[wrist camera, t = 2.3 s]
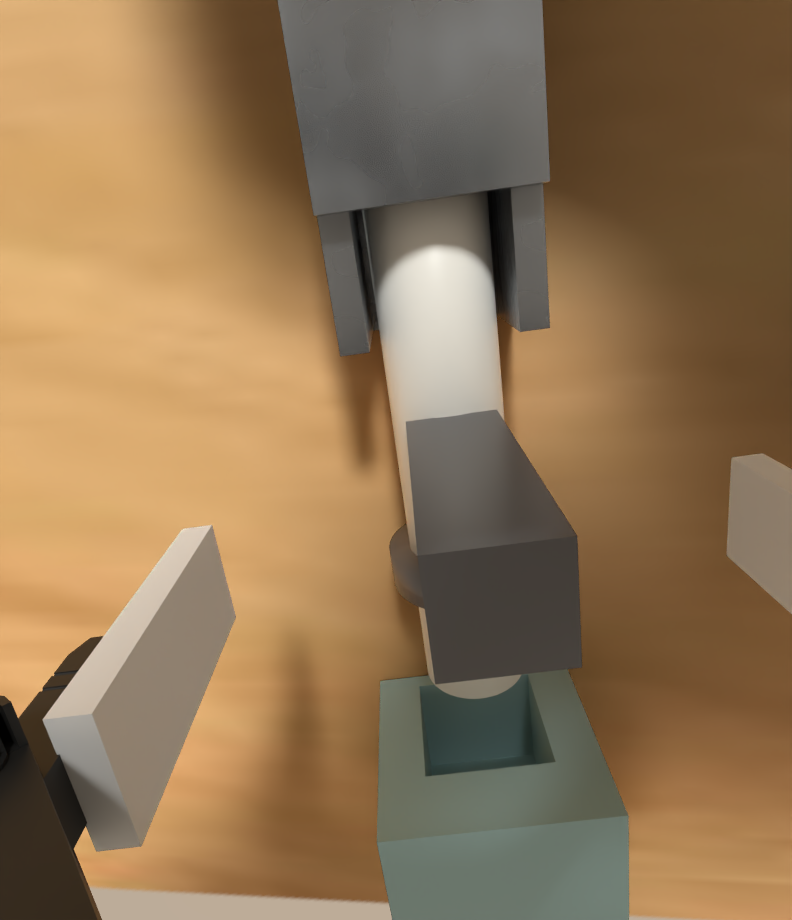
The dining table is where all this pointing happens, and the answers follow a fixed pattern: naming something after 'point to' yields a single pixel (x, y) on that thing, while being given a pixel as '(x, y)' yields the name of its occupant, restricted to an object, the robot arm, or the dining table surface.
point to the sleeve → (422, 134)
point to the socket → (498, 805)
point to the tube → (465, 461)
